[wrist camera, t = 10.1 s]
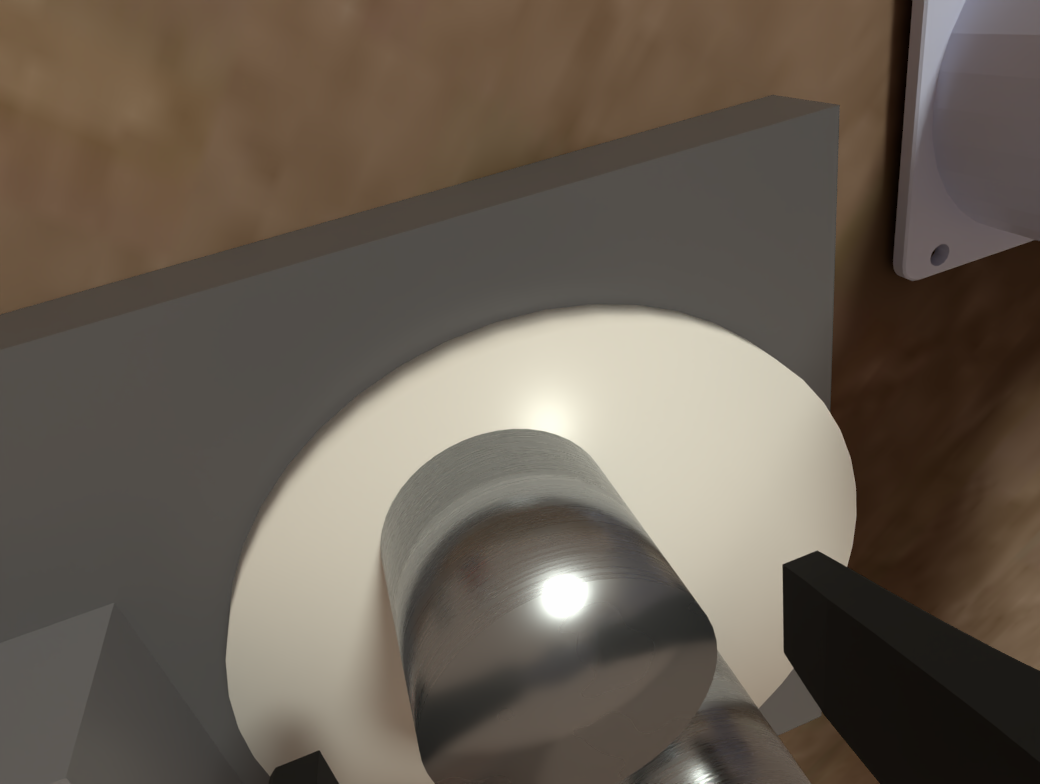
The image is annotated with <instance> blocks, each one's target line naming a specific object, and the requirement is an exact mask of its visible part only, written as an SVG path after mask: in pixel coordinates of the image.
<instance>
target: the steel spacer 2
mask: <svg viewBox="0 0 1040 784" xmlns="http://www.w3.org/2000/svg"><path fill="white" fill-rule="evenodd" d="M615 784H811V783H810V781H809V780H808V778H807V777H806V776H805V774H804V773H803V771H802V770H801V769H800V767H799V766H798V764H797V763H796V761H795V760H794V759H793V757H792V756H791V754H790V753H789V751H788V750H787V749H786V747H785V746H784V744H783V743H782V741H781V740H780V739H779V737H778V736H777V734H776V733H775V731H774V730H773V729H772V727H771V726H770V724H769V723H768V721H767V720H766V719H765V717H764V716H763V714H762V713H761V712H760V710H759V709H758V707H757V706H756V704H755V703H754V702H753V700H752V699H751V697H750V696H749V694H748V693H747V692H746V690H745V689H744V687H743V686H742V684H741V683H740V682H739V680H738V679H737V677H736V676H735V674H734V673H733V672H732V670H731V669H730V667H729V666H728V664H727V663H726V662H725V660H724V659H723V657H722V656H721V655H720V653H719V652H718V650H717V664H716V669H715V673H714V677H713V681H712V684H711V686H710V689H709V691H708V693H707V696H706V697H705V699H704V701H703V703H702V705H701V707H700V708H699V710H698V711H697V713H696V714H695V716H694V717H693V719H692V720H691V721H690V723H689V724H688V725H687V726H686V727H685V729H684V730H683V731H682V732H681V733H680V735H679V736H678V737H677V738H676V739H675V740H674V741H673V742H672V743H671V744H670V745H669V746H668V747H667V748H666V749H664V750H663V751H662V752H661V753H660V754H659V755H657V756H656V757H655V758H654V759H653V760H651V761H650V762H648V763H647V764H646V765H644V766H643V767H642V768H640V769H639V770H637V771H636V772H634V773H633V774H631V775H629V776H628V777H626V778H625V779H623V780H621V781H619V782H617V783H615Z"/></svg>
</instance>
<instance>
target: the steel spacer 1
mask: <svg viewBox="0 0 1040 784" xmlns="http://www.w3.org/2000/svg"><path fill="white" fill-rule="evenodd" d="M380 548H381V560H382V565H383V570H384V575H385V580H386V585H387V590H388V595H389V600H390V605H391V610H392V615H393V620H394V625H395V630H396V635H397V640H398V646H399V651H400V656H401V661H402V666H403V671H404V676H405V681H406V686H407V691H408V696H409V701H410V706H411V711H412V716H413V721H414V726H415V732H416V737H417V742H418V747H419V751H420V756H421V760H422V763H423V765H424V768H425V770H426V772H427V774H428V775H429V777H430V778H431V779H432V781H433V782H434V783H435V784H615V783H617V782H619V781H621V780H623V779H625V778H626V777H628V776H629V775H631V774H633V773H634V772H636V771H637V770H639V769H640V768H642V767H643V766H644V765H646V764H647V763H648V762H650V761H651V760H653V759H654V758H655V757H656V756H657V755H659V754H660V753H661V752H662V751H663V750H664V749H666V748H667V747H668V746H669V745H670V744H671V743H672V742H673V741H674V740H675V739H676V738H677V737H678V736H679V735H680V733H681V732H682V731H683V730H684V729H685V727H686V726H687V725H688V724H689V723H690V721H691V720H692V719H693V717H694V716H695V714H696V713H697V711H698V710H699V708H700V707H701V705H702V703H703V701H704V699H705V697H706V696H707V693H708V691H709V689H710V686H711V684H712V681H713V677H714V673H715V669H716V664H717V640H716V636H715V633H714V629H713V626H712V624H711V623H710V621H709V619H708V617H707V615H706V614H705V612H704V611H703V610H702V608H701V607H700V605H699V604H698V603H697V601H696V600H695V599H694V597H693V596H692V594H691V593H690V592H689V590H688V589H687V587H686V586H685V585H684V583H683V582H682V581H681V579H680V578H679V576H678V575H677V574H676V572H675V571H674V570H673V568H672V567H671V565H670V564H669V563H668V561H667V560H666V558H665V557H664V556H663V554H662V553H661V552H660V550H659V549H658V547H657V546H656V545H655V543H654V542H653V541H652V539H651V538H650V536H649V535H648V534H647V532H646V531H645V529H644V528H643V527H642V525H641V524H640V523H639V521H638V520H637V518H636V517H635V516H634V514H633V513H632V512H631V510H630V509H629V507H628V506H627V505H626V503H625V502H624V500H623V499H622V498H621V496H620V495H619V494H618V492H617V491H616V489H615V488H614V487H613V485H612V484H611V483H610V481H609V480H608V478H607V477H606V476H605V474H604V473H603V471H602V470H601V469H600V467H599V466H598V465H597V463H596V462H595V461H594V460H593V458H592V457H591V456H590V455H589V454H588V453H587V452H586V451H585V450H583V449H582V448H581V447H580V446H578V445H576V444H575V443H573V442H572V441H570V440H568V439H566V438H563V437H561V436H559V435H556V434H552V433H549V432H545V431H539V430H532V429H507V430H498V431H493V432H489V433H484V434H480V435H477V436H474V437H471V438H468V439H465V440H463V441H461V442H459V443H457V444H455V445H453V446H450V447H449V448H447V449H445V450H444V451H442V452H440V453H439V454H437V455H435V456H434V457H433V458H432V459H430V460H429V461H428V462H426V463H425V464H424V465H422V466H421V467H420V468H419V469H418V470H417V471H416V472H415V473H414V474H413V475H412V476H411V477H410V478H409V479H408V481H407V482H406V483H405V484H404V485H403V487H402V488H401V489H400V491H399V492H398V494H397V495H396V497H395V499H394V500H393V502H392V504H391V506H390V508H389V510H388V513H387V515H386V517H385V521H384V525H383V528H382V534H381V542H380Z"/></svg>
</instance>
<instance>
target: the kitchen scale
mask: <svg viewBox="0 0 1040 784" xmlns="http://www.w3.org/2000/svg"><path fill="white" fill-rule="evenodd" d="M839 106H840V105H836V104H829V103H823V102H816V101H809V100H803V99H796V98H789V97H783V96H776V95H771V96H768V97H764V98H761V99H757V100H754V101H750V102H747V103H743V104H740V105H736V106H733V107H729V108H726V109H722V110H719V111H715V112H711V113H708V114H704V115H701V116H697V117H694V118H690V119H687V120H683V121H680V122H676V123H673V124H669V125H666V126H662V127H659V128H655V129H652V130H648V131H645V132H641V133H638V134H634V135H631V136H627V137H624V138H620V139H617V140H613V141H610V142H606V143H603V144H599V145H595V146H592V147H588V148H585V149H581V150H578V151H574V152H571V153H567V154H564V155H560V156H557V157H553V158H550V159H546V160H543V161H539V162H536V163H532V164H529V165H525V166H522V167H518V168H515V169H511V170H508V171H504V172H501V173H497V174H494V175H490V176H487V177H483V178H479V179H476V180H472V181H469V182H465V183H462V184H458V185H455V186H451V187H448V188H444V189H441V190H437V191H434V192H430V193H427V194H423V195H420V196H416V197H413V198H409V199H406V200H402V201H399V202H395V203H392V204H388V205H385V206H381V207H378V208H374V209H371V210H367V211H363V212H360V213H356V214H353V215H349V216H346V217H342V218H339V219H335V220H332V221H328V222H325V223H321V224H318V225H314V226H311V227H307V228H304V229H300V230H297V231H293V232H290V233H286V234H283V235H279V236H276V237H272V238H269V239H265V240H262V241H258V242H255V243H251V244H247V245H244V246H240V247H237V248H233V249H230V250H226V251H223V252H219V253H216V254H212V255H209V256H205V257H202V258H198V259H195V260H191V261H188V262H184V263H181V264H177V265H174V266H170V267H167V268H163V269H160V270H156V271H153V272H149V273H146V274H142V275H139V276H135V277H132V278H128V279H124V280H121V281H117V282H114V283H110V284H107V285H103V286H100V287H96V288H93V289H89V290H86V291H82V292H79V293H75V294H72V295H68V296H65V297H61V298H58V299H54V300H51V301H47V302H44V303H40V304H37V305H33V306H30V307H26V308H23V309H19V310H16V311H12V312H8V313H5V314H1V315H0V784H269V780H270V776H271V774H272V772H273V771H274V769H275V768H276V767H278V766H281V765H283V764H286V763H288V762H291V761H293V760H296V759H298V758H301V757H303V756H306V755H308V754H311V753H313V752H316V751H318V750H320V752H321V754H322V755H323V757H324V759H325V761H326V762H327V764H328V766H329V767H330V769H331V771H332V772H333V774H334V776H335V778H336V779H337V781H338V783H339V784H435V783H434V782H433V781H432V779H431V778H430V777H429V775H428V774H427V772H426V770H425V768H424V765H423V763H422V760H421V756H420V751H419V747H418V742H417V737H416V732H415V726H414V721H413V716H412V711H411V706H410V701H409V696H408V691H407V686H406V681H405V676H404V671H403V666H402V661H401V656H400V651H399V646H398V640H397V635H396V630H395V625H394V620H393V615H392V610H391V605H390V600H389V595H388V590H387V585H386V580H385V575H384V570H383V565H382V560H381V548H380V542H381V534H382V528H383V525H384V521H385V517H386V515H387V513H388V510H389V508H390V506H391V504H392V502H393V500H394V499H395V497H396V495H397V494H398V492H399V491H400V489H401V488H402V487H403V485H404V484H405V483H406V482H407V481H408V479H409V478H410V477H411V476H412V475H413V474H414V473H415V472H416V471H417V470H418V469H419V468H420V467H421V466H422V465H424V464H425V463H426V462H428V461H429V460H430V459H432V458H433V457H434V456H435V455H437V454H439V453H440V452H442V451H444V450H445V449H447V448H449V447H450V446H453V445H455V444H457V443H459V442H461V441H463V440H465V439H468V438H471V437H474V436H477V435H480V434H484V433H489V432H493V431H498V430H507V429H532V430H539V431H545V432H549V433H552V434H556V435H559V436H561V437H563V438H566V439H568V440H570V441H572V442H573V443H575V444H576V445H578V446H580V447H581V448H582V449H583V450H585V451H586V452H587V453H588V454H589V455H590V456H591V457H592V458H593V460H594V461H595V462H596V463H597V465H598V466H599V467H600V469H601V470H602V471H603V473H604V474H605V476H606V477H607V478H608V480H609V481H610V483H611V484H612V485H613V487H614V488H615V489H616V491H617V492H618V494H619V495H620V496H621V498H622V499H623V500H624V502H625V503H626V505H627V506H628V507H629V509H630V510H631V512H632V513H633V514H634V516H635V517H636V518H637V520H638V521H639V523H640V524H641V525H642V527H643V528H644V529H645V531H646V532H647V534H648V535H649V536H650V538H651V539H652V541H653V542H654V543H655V545H656V546H657V547H658V549H659V550H660V552H661V553H662V554H663V556H664V557H665V558H666V560H667V561H668V563H669V564H670V565H671V567H672V568H673V570H674V571H675V572H676V574H677V575H678V576H679V578H680V579H681V581H682V582H683V583H684V585H685V586H686V587H687V589H688V590H689V592H690V593H691V594H692V596H693V597H694V599H695V600H696V601H697V603H698V604H699V605H700V607H701V608H702V610H703V611H704V612H705V614H706V615H707V617H708V619H709V621H710V623H711V624H712V626H713V629H714V633H715V636H716V640H717V650H718V652H719V653H720V655H721V656H722V657H723V659H724V660H725V662H726V663H727V664H728V666H729V667H730V669H731V670H732V672H733V673H734V674H735V676H736V677H737V679H738V680H739V682H740V683H741V684H742V686H743V687H744V689H745V690H746V692H747V693H748V694H749V696H750V697H751V699H752V700H753V702H754V703H755V704H756V706H757V707H758V709H759V710H760V712H761V713H762V714H763V716H764V717H765V719H766V720H767V721H768V723H769V724H770V726H771V727H772V729H773V730H774V731H775V733H776V734H777V736H778V735H780V734H782V733H785V732H787V731H789V730H791V729H793V728H796V727H798V726H800V725H802V724H805V723H807V722H809V721H811V720H814V719H816V718H818V717H820V716H821V709H820V708H819V706H818V705H817V703H816V702H815V700H814V699H813V697H812V696H811V694H810V693H809V691H808V690H807V688H806V687H805V685H804V684H803V682H802V681H801V679H800V677H799V676H798V674H797V673H796V671H795V670H794V668H793V666H792V665H791V663H790V662H789V660H788V658H787V657H786V655H785V654H784V647H783V568H782V564H785V563H787V562H790V561H792V560H795V559H797V558H800V557H802V556H805V555H807V554H810V553H812V552H815V551H817V550H818V551H819V552H821V553H823V554H825V555H827V556H828V557H830V558H832V559H834V560H836V561H837V562H839V563H841V564H843V565H844V566H846V567H847V565H848V561H849V558H850V554H851V550H852V546H853V539H854V532H855V524H856V484H855V478H854V473H853V468H852V462H851V457H850V454H849V452H848V449H847V446H846V444H845V441H844V438H843V436H842V433H841V430H840V428H839V427H838V425H837V423H836V422H835V420H834V418H833V417H832V415H831V413H830V406H831V372H832V339H833V306H834V272H835V239H836V206H837V172H838V139H839Z"/></svg>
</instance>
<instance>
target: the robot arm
mask: <svg viewBox="0 0 1040 784" xmlns="http://www.w3.org/2000/svg"><path fill="white" fill-rule="evenodd" d="M1034 240H1037V241H1040V0H913V2H912V15H911V29H910V42H909V55H908V69H907V82H906V95H905V109H904V122H903V135H902V149H901V162H900V176H899V189H898V202H897V216H896V229H895V242H894V256H893V268H894V271H895V273H896V274H897V275H899V276H901V277H903V278H906V279H908V280H911V281H915V280H920V279H923V278H926V277H929V276H932V275H935V274H938V273H941V272H944V271H946V270H949V269H952V268H955V267H958V266H961V265H964V264H967V263H970V262H973V261H976V260H978V259H981V258H984V257H987V256H990V255H993V254H996V253H999V252H1002V251H1005V250H1008V249H1010V248H1013V247H1016V246H1019V245H1022V244H1025V243H1028V242H1031V241H1034ZM935 248H936V250H935ZM934 250H935V253H934V254H933V255H932V252H933V251H934ZM931 255H932V257H931ZM782 568H783V647H784V654H785V655H786V657H787V658H788V660H789V662H790V663H791V665H792V666H793V668H794V670H795V671H796V673H797V674H798V676H799V677H800V679H801V681H802V682H803V684H804V685H805V687H806V688H807V690H808V691H809V693H810V694H811V696H812V697H813V699H814V700H815V702H816V703H817V705H818V706H819V708H820V709H821V711H822V712H823V714H824V715H825V716H826V717H827V719H828V720H829V721H830V722H831V724H832V725H833V726H834V727H835V729H836V730H837V731H838V732H839V734H840V735H841V736H842V737H843V739H844V740H845V741H846V742H847V744H848V745H849V746H850V747H851V748H852V750H853V751H854V752H855V753H856V755H857V756H858V757H859V758H860V760H861V761H862V762H863V763H864V764H865V766H866V767H867V768H868V769H869V771H870V772H871V773H872V774H873V775H874V777H875V778H876V779H877V780H878V781H879V783H880V784H1040V671H1039V670H1037V669H1034V668H1032V667H1030V666H1028V665H1026V664H1024V663H1022V662H1020V661H1018V660H1016V659H1014V658H1012V657H1010V656H1008V655H1006V654H1004V653H1002V652H1000V651H998V650H996V649H994V648H992V647H991V646H989V645H987V644H985V643H983V642H981V641H979V640H977V639H975V638H974V637H972V636H970V635H968V634H966V633H964V632H962V631H960V630H959V629H957V628H955V627H953V626H951V625H949V624H947V623H945V622H943V621H942V620H940V619H938V618H936V617H934V616H932V615H931V614H929V613H927V612H925V611H923V610H922V609H920V608H918V607H916V606H914V605H913V604H911V603H909V602H907V601H906V600H904V599H902V598H900V597H898V596H897V595H895V594H893V593H891V592H890V591H888V590H886V589H884V588H883V587H881V586H879V585H877V584H876V583H874V582H872V581H870V580H869V579H867V578H865V577H863V576H862V575H860V574H858V573H856V572H855V571H853V570H851V569H850V568H848V567H846V566H844V565H843V564H841V563H839V562H837V561H836V560H834V559H832V558H830V557H828V556H827V555H825V554H823V553H821V552H819V551H818V550H817V551H815V552H812V553H810V554H807V555H805V556H802V557H800V558H797V559H795V560H792V561H790V562H787V563H785V564H782ZM269 784H339V783H338V781H337V779H336V778H335V776H334V774H333V772H332V771H331V769H330V767H329V766H328V764H327V762H326V761H325V759H324V757H323V755H322V754H321V752H320V750H318V751H316V752H313V753H311V754H308V755H306V756H303V757H301V758H298V759H296V760H293V761H291V762H288V763H286V764H283V765H281V766H278V767H276V768H275V769H274V771H273V772H272V774H271V776H270V780H269Z"/></svg>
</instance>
